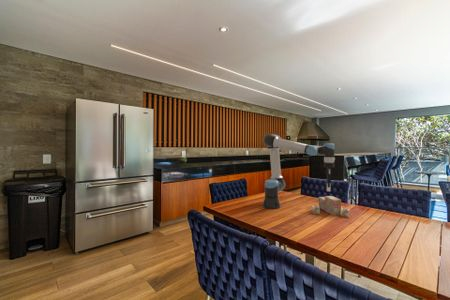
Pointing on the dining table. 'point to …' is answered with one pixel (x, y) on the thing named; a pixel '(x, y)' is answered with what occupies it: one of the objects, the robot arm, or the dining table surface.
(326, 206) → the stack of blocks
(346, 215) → the marked cube right
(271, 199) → the robot arm
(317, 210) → the marked cube left
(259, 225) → the dining table surface
